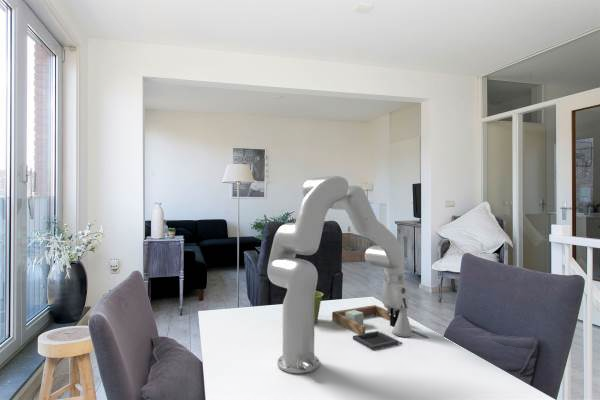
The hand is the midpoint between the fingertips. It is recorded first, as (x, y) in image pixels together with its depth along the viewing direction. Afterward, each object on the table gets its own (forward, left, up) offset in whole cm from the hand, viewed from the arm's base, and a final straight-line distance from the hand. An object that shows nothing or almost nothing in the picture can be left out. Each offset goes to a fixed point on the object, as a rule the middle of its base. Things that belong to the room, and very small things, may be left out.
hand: (394, 325), depth 142 cm
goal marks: (-6, +1, -2) cm, 6 cm away
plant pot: (+24, +24, -2) cm, 34 cm away
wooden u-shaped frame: (+10, +4, -2) cm, 11 cm away
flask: (-4, 0, -2) cm, 4 cm away
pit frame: (-6, +14, -2) cm, 15 cm away
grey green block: (+12, +10, -2) cm, 16 cm away
